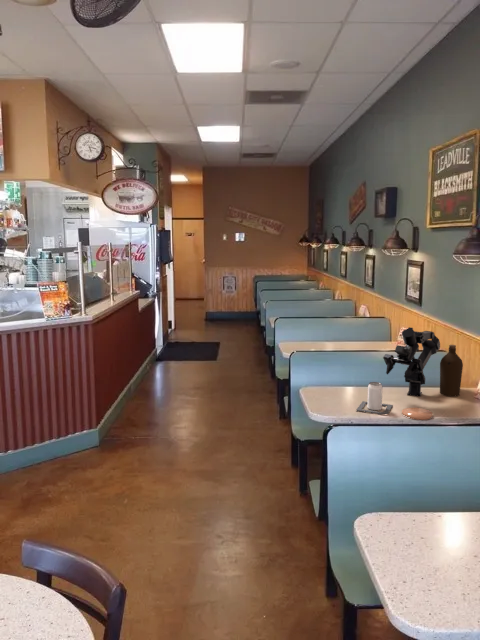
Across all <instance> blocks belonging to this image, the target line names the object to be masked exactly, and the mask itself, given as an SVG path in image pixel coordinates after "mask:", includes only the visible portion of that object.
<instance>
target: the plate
mask: <svg viewBox="0 0 480 640" xmlns="http://www.w3.org/2000/svg"><path fill="white" fill-rule="evenodd" d="M402 414H403V415H405V416H407V417H410V418H412V419H411V420H416V421H417V420H418V421H425V420H430V418H431V417H432V418H433V415H434V414H433V412H432V411H431V410H428V409H425V408H422V407H406V408H403V409H402V410H401V415H402ZM403 415H402V416H403ZM405 416H404V417H405ZM407 417H406V418H407ZM410 418H409V419H410ZM432 418H431V419H432Z"/></svg>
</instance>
